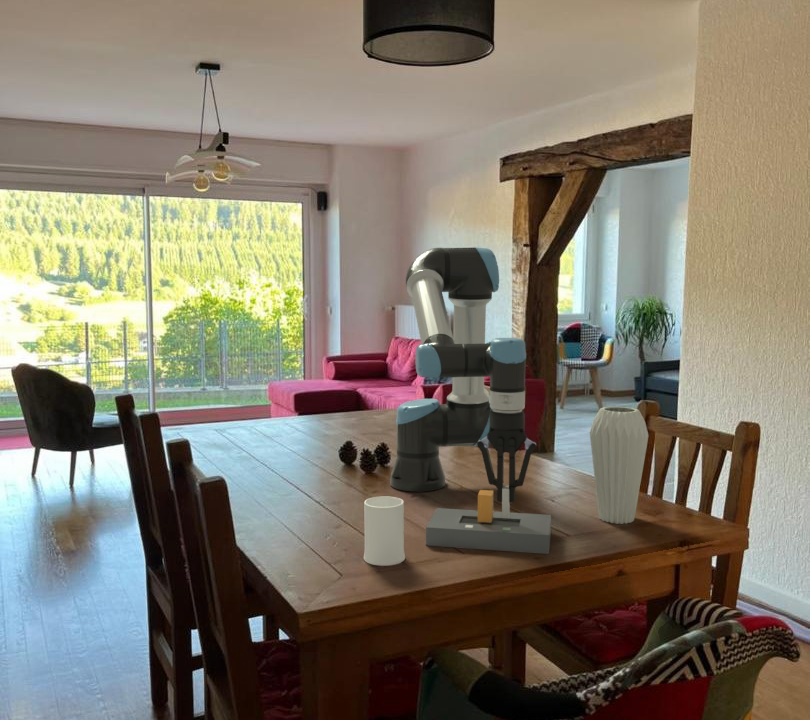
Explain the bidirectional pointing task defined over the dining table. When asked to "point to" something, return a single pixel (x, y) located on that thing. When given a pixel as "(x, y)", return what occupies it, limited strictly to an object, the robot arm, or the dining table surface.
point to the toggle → (485, 506)
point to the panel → (489, 531)
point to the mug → (384, 530)
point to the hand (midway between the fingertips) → (505, 516)
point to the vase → (618, 461)
